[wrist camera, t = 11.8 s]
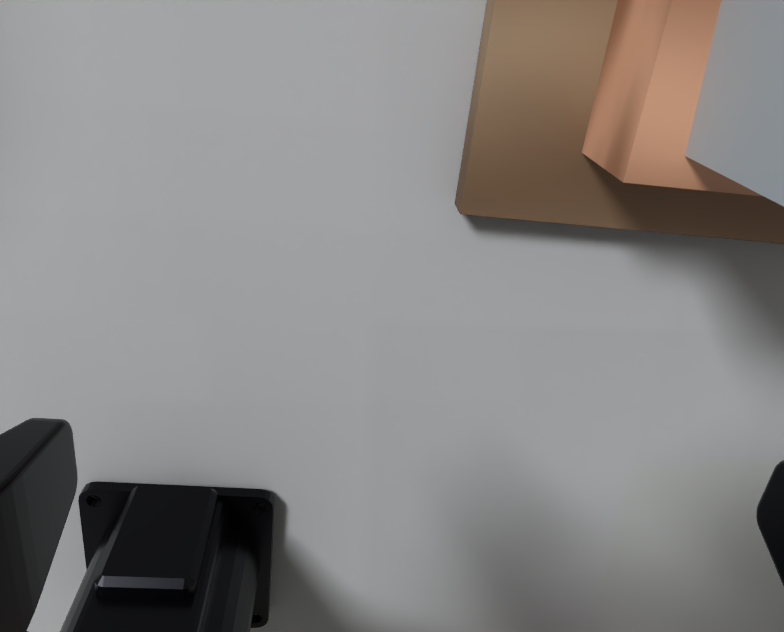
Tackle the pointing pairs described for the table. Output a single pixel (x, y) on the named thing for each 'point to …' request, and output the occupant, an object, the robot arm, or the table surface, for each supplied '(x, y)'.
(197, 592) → the robot arm
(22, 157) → the table surface
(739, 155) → the grey brick
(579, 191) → the tower base
